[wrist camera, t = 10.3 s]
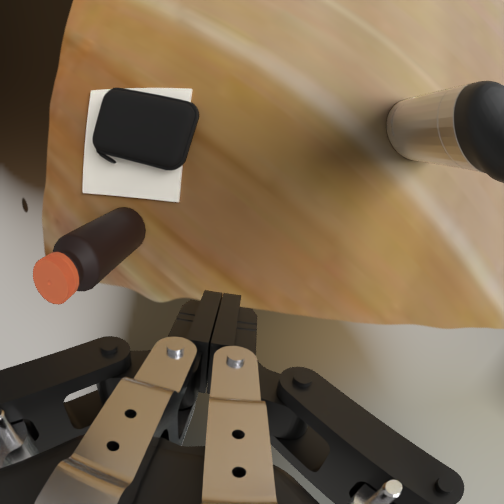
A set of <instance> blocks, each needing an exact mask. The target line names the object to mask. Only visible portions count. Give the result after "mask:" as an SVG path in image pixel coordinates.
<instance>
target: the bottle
mask: <svg viewBox="0 0 504 504" xmlns="http://www.w3.org/2000/svg"><path fill="white" fill-rule="evenodd" d="M145 231H146V230H145V224H144V222H143V219H142V217H141V216H140V215H139V214H138V213H137V212H136V211H134V210H133V209H130V208H126V207H122V208H117V209H115V210H113V211H111V212H109V213H107V214H105V215H103V216H101V217H99V218H97V219H95V220H93V221H91V222H89V223H87V224H85V225H83V226H81V227H79V228H77V229H76V230H74V231H72V232H70V233H68V234H66V235H64V236H63V237H61V238H59V240H58V241H57V242H56V244H55V246H54V249H53V252H52V253H50V254H48V255H47V256H45V257H43V258H42V259H40V260H38V262H36V264H35V266H34V269H33V279H34V283H35V286H36V288H37V290H38V292H39V293H40V294H41V295H42V297H43V298H44V299H46V300H47V301H48V302H51V303H53V304H62V303H64V302H65V301H66V300H67V299H68V298H70V297H71V296H72V295H73V294H74V293H75V292H76V291H87V290H89V289H92V288H93V287H94V286H95V285H96V284H98V283H99V282H100V281H101V280H102V279H103V278H104V277H105V276H106V275H107V274H108V273H110V272H111V271H112V270H113V269H114V268H115V267H116V266H117V265H118V264H120V263H121V262H122V261H123V260H124V259H125V258H126V257H127V256H129V255H130V254H131V253H132V252H133V251H134V250H135V249H137V248H138V247H139V246H140V245H141V244H142V242H143V240H144V238H145Z"/></svg>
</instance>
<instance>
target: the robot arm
mask: <svg viewBox="0 0 504 504" xmlns="http://www.w3.org/2000/svg"><path fill="white" fill-rule="evenodd" d="M387 134H388V137H389V140H390V142H391V144H392V146H393V147H394V149H395V150H396V151H397V152H398V153H399V154H400V155H402V156H403V157H405V158H407V159H410V160H414V161H421V162H427V163H434V164H440V165H446V166H452V167H458V168H463V169H468V170H474V171H479V172H484V173H487V174H488V175H489V176H490V177H492V178H493V179H495V180H497V181H500V182H503V183H504V86H503V85H501V84H499V83H497V82H493V81H481V82H476V83H471V84H467V85H462V86H458V87H454V88H449V89H445V90H441V91H437V92H433V93H429V94H425V95H421V96H417V97H413V98H409V99H406V100H403V101H400V102H398V103H397V104H395V105H394V106H393V108H392V109H391V110H390V112H389V114H388V118H387ZM240 300H241V295H234V294H227V293H224V294H223V297H222V293H220V292H213V291H207V290H205V291H204V293H203V296H202V299H201V301H195V300H190V301H188V302H187V303H185V304H184V305H182V308H181V310H180V312H179V314H178V316H177V319H176V320H175V322H174V324H173V327H172V329H171V331H170V333H169V335H168V337H167V338H163V339H161V340H159V341H158V342H157V343H156V344H155V346H154V347H153V349H152V350H148V351H130V346H129V344H128V343H127V342H126V341H125V340H123V339H121V338H118V337H112V336H111V337H110V336H109V337H102V338H98V339H96V340H93V341H90V342H87V343H84V344H81V345H78V346H75V347H72V348H69V349H66V350H63V351H60V352H57V353H54V354H50V355H47V356H44V357H41V358H38V359H35V360H32V361H29V362H25V363H22V364H19V365H16V366H13V367H10V368H6V369H3V370H0V504H319V503H318V502H317V501H316V500H315V499H314V498H313V497H312V496H311V495H310V494H309V493H308V492H307V491H306V490H305V489H304V488H303V487H302V486H301V485H300V484H299V483H298V482H297V481H296V480H295V479H294V478H293V477H292V476H290V475H289V474H288V473H287V472H285V471H284V470H282V469H281V468H279V467H277V466H275V465H273V463H272V454H271V445H272V446H273V447H274V448H276V450H278V452H279V453H280V454H281V455H282V456H283V457H284V458H285V459H287V460H288V461H289V462H290V463H291V464H292V465H293V466H294V467H295V468H296V469H297V470H298V471H299V472H300V473H301V474H302V475H303V476H304V477H305V478H306V479H308V480H309V481H310V482H311V483H312V484H313V485H314V486H315V487H316V488H318V489H319V490H320V491H321V492H322V493H323V494H324V495H325V496H327V497H328V498H329V499H330V500H331V501H332V502H334V503H335V504H456V503H457V502H459V501H460V499H461V498H462V496H463V493H464V483H463V481H462V479H461V477H460V476H459V474H458V473H457V472H455V471H454V470H452V469H451V468H449V467H448V466H446V465H445V464H443V463H442V462H440V461H438V460H437V459H435V458H434V457H432V456H431V455H429V454H428V453H426V452H425V451H423V450H422V449H420V448H419V447H417V446H416V445H415V444H413V443H412V442H410V441H409V440H407V439H406V438H404V437H403V436H401V435H400V434H399V433H397V432H396V431H394V430H393V429H391V428H390V427H389V426H387V425H386V424H385V423H383V422H382V421H380V420H379V419H378V418H376V417H375V416H373V415H372V414H371V413H369V412H368V411H366V410H365V409H364V408H362V407H361V406H360V405H358V404H357V403H356V402H354V401H353V400H352V399H350V398H349V397H348V396H346V395H345V394H344V393H342V392H340V390H338V389H337V388H336V387H334V386H333V385H332V384H330V383H329V382H328V381H326V380H325V379H324V378H323V377H321V376H320V375H319V374H318V373H316V372H314V371H312V370H310V369H307V368H304V367H292V368H288V369H286V370H284V371H283V372H282V373H281V374H279V373H276V372H273V371H270V370H268V369H266V368H265V367H263V366H262V365H261V364H260V363H259V362H258V360H257V358H256V333H257V332H256V331H257V315H256V314H255V312H254V311H253V309H250V308H243V307H240ZM207 383H208V387H207ZM94 384H97V388H98V390H96V391H94V392H91V393H89V394H86V395H84V396H81V397H79V398H76V399H74V400H71V401H68V402H64V399H65V398H66V396H68V395H69V394H71V393H74V392H76V391H79V390H81V389H84V388H86V387H89V386H91V385H94ZM206 387H207V393H208V394H210V399H209V410H208V422H207V435H206V446H198V447H197V446H196V447H184V446H181V445H182V442H183V440H184V437H185V434H186V431H187V428H188V426H189V423H190V420H191V417H192V414H193V411H194V408H195V401H196V399H197V395H198V392H201V393H205V392H206ZM270 444H271V445H270Z"/></svg>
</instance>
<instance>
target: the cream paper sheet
mask: <svg viewBox="0 0 504 504" xmlns="http://www.w3.org/2000/svg"><path fill="white" fill-rule="evenodd" d="M126 89H130V90H135V91H141V92H146V93H152V94H157V95H162V96H167V97H171V98H176V99H181V100H185V101H189V102H191V96H192V89H184V88H126ZM109 90H111V89H106V90H92V91H91V95H90V102H89V110H88V118H87V127H86V137H85V150H84V165H83V193H90V194H101V195H112V196H123V197H133V198H143V199H153V200H162V201H171V202H179V200H180V189H181V178H182V168H183V165H182V166H181V167H180V168H178V169H176V170H163V169H160V168H156V167H152V166H149V165H145V164H141V163H137V162H133V161H129V160H126V159H122V158H118V157H114V156H109V155H107V156H109V157H111V158H112V159H114V160H115V161H116V163H115V164H114V163H111V162H109V161H107V160H106V159H104V158H103V157H101V156H100V155H99V154H98V153H97V152H96V149H95V147H94V145H93V141H92V138H93V133H94V129H95V125H96V121H97V118H98V114H99V110H100V107H101V103H102V100H103V97H104V95H105V94H106V93H107V92H108V91H109Z"/></svg>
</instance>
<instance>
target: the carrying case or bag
mask: <svg viewBox="0 0 504 504" xmlns="http://www.w3.org/2000/svg"><path fill="white" fill-rule="evenodd" d="M198 119H199V111H198V109H197V107H196V106H195V105H194V104H193V103H191V102H189V101H185V100H181V99H176V98H171V97H167V96H162V95H157V94H152V93H146V92H141V91H135V90H130V89H124V88H113V89H111V90H109V91H108V92H107V93H106V94H105V95H104V97H103V100H102V103H101V107H100V110H99V114H98V118H97V121H96V125H95V129H94V133H93V138H92V141H93V145H94V147H95V149H96V152H97V153H98V154H99V155H100V156H101V157H103V158H104V159H106V160H107V161H109V162H111V163H114V164H115V163H116V161H115V160H114V159H112V158H111V157H109V156H114V157H118V158H122V159H126V160H129V161H133V162H137V163H141V164H145V165H149V166H152V167H156V168H160V169H163V170H176V169H178V168H180V167H181V166H182V165H183V164H184V163H185V161H186V158H187V155H188V152H189V148H190V145H191V142H192V138H193V135H194V132H195V129H196V126H197V123H198ZM107 155H109V156H107Z"/></svg>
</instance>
